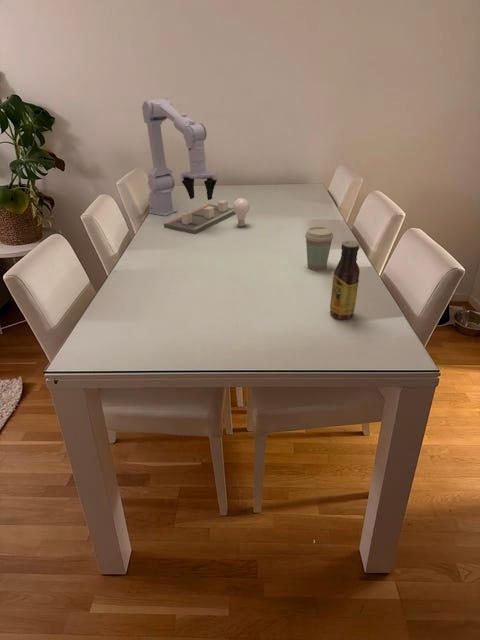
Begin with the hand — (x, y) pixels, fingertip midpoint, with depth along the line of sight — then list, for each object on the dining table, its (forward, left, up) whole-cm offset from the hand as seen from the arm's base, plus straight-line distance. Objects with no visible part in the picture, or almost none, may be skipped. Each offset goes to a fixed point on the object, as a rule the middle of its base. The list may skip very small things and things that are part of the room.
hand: (201, 198), depth 173 cm
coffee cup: (+52, -11, -12) cm, 55 cm away
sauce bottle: (+70, -36, -12) cm, 80 cm away
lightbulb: (+11, +10, -12) cm, 19 cm away
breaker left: (-3, +19, -10) cm, 22 cm away
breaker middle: (-3, +9, -10) cm, 14 cm away
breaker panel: (-7, +9, -12) cm, 17 cm away
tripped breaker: (-7, -1, -10) cm, 12 cm away
